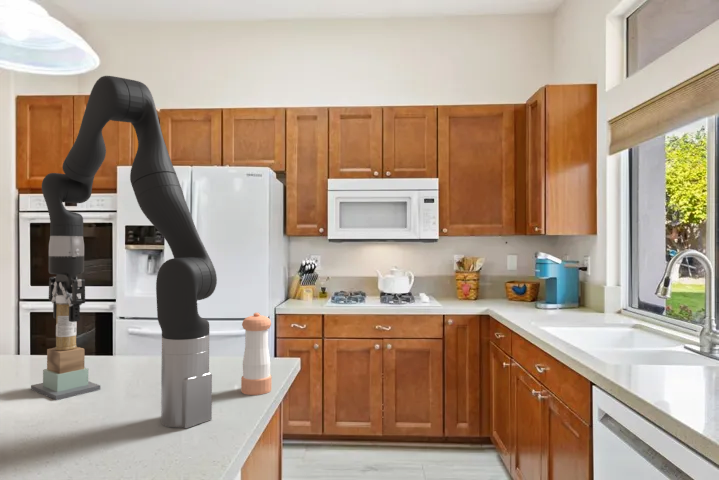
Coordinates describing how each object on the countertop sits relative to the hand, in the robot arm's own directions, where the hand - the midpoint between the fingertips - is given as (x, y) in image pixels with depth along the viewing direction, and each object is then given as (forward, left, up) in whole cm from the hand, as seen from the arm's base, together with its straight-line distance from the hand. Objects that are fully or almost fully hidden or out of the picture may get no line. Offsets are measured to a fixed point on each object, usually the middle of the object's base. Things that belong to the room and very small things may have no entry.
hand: (66, 319), depth 118 cm
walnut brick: (0, 0, -12) cm, 12 cm away
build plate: (0, 0, -17) cm, 17 cm away
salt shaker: (-39, -27, -17) cm, 51 cm away
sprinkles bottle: (0, 0, -7) cm, 7 cm away
